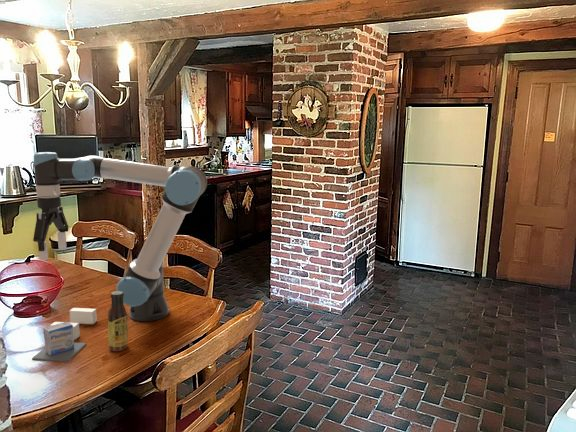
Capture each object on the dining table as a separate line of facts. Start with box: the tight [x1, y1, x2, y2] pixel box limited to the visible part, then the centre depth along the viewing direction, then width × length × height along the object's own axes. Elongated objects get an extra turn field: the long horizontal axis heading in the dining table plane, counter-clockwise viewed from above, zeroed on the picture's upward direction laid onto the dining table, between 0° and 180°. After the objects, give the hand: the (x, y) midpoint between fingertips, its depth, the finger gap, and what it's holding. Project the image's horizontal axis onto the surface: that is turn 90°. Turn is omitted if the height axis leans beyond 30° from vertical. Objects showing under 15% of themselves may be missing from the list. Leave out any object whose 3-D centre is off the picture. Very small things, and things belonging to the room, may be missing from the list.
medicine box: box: [43, 321, 75, 356], centre depth 157 cm, size 8×4×9 cm, turn 137°
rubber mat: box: [31, 341, 87, 363], centre depth 158 cm, size 12×12×1 cm
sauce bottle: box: [107, 290, 129, 352], centre depth 159 cm, size 6×6×20 cm
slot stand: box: [49, 307, 98, 341], centre depth 174 cm, size 9×16×5 cm, turn 176°
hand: (53, 254), depth 171 cm, fingers open, 13 cm apart
